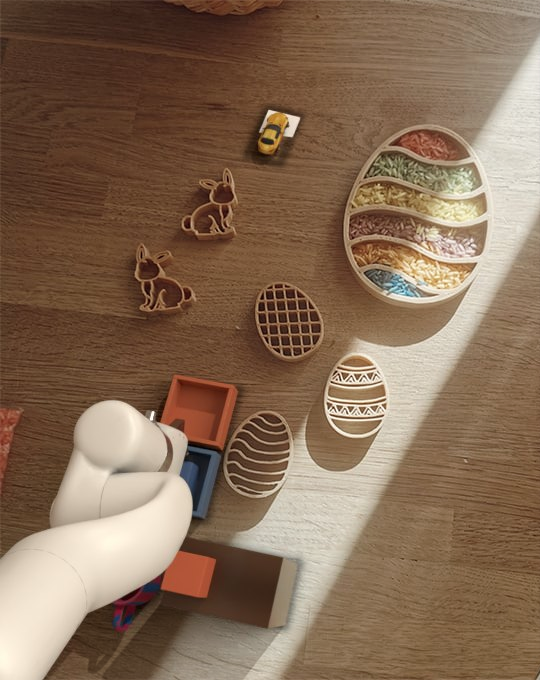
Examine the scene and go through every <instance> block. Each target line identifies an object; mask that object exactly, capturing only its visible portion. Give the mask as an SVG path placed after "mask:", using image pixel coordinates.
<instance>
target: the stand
mask: <svg viewBox="0 0 540 680" xmlns="http://www.w3.org/2000/svg"><path fill="white" fill-rule="evenodd" d="M179 551H182V552H187V553H192V554H196V555H201V556H206V557H210V558H213V559H216V563H215V567H214V571H213V575H212V579H211V583H210V587H209V591H208V595H207V598H200V597H193V596H189V595H184V594H180V593H175V592H171V591H166V590H163V594H162V597H161V601H160V605H161V606H165V607H169V608H173V609H178V610H183V611H187V612H193V613H195V614H201V615H205V616H209V617H214V618H218V619H222V620H226V621H231V622H237V623H240V624H245V625H248V626H249V625H250V626H254V627H258V628H259V627H260V628H262V629H267V630H268V629H273V628H278V627H279V628H280V627H284V626H286V622H287V618H288V613H289V609H290V604H291V599H292V596H293V590H294V587H295V586H294V585H295V580H296V576H297V572H298V568H299V567H298V566H299V565H298V564H297V563H295V562H293V561H291V560H289V559H287V558H286V557H283V556H278V555H274V554H269V553H264V552H259V551H255V550H250V549H245V548H240V547H236V546H231V545H226V544H223V543H218V542H212V541H209V540H203V539H198V538H194V537H189V536H186V537H185V539H184V541H183V543H182V545H181V547H180V549H179Z"/></svg>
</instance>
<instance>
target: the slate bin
mask: <svg viewBox="0 0 540 680" xmlns="http://www.w3.org/2000/svg"><path fill="white" fill-rule="evenodd" d="M187 448H189V454H190V456H189V457H191V458H192V459H193V460H195V461H196V462H195V465H197V466H198V467H199V468H200V471H199V474H198V478H197V482H196V485H195V489H194V493H193V497H192V505H193V507H192V517H191V518H197V519H200V520H201V519H202V520H206V517H207V513H208V510H209V509H208V508H209V505H210V501H211V497H212V494H213V489H214V486H215V481H216V479H217V474H218V470H219V466H220V462H221V459H222V456H221V455H220V454H219V453H218V452H217V451H216V450H215V451H214V450H209V449H204V448H200V447H194V446H190V445H187Z"/></svg>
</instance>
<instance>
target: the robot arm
mask: <svg viewBox="0 0 540 680" xmlns="http://www.w3.org/2000/svg"><path fill="white" fill-rule="evenodd" d="M184 427H185V420H182V419H177V418H176V419H175V420H174V421H173V422H172V423H171V424H170V425H165V424H162V423H160V422H157V412H155V411H153V410H148V409H146V410H145V413H144V414H142V413H141V412H140V411H138V410H137V409H136V408H135V407H133V406H132V405H130V404H129V403H127V402H124V401H122V400H117V399H107V400H103V401H100V402H96V403H94V404H93V405H91V406H89V407H88V408H87V409H85V410H84V411H83V412H82V414H81V415H80V416H79V418H78V420H77V421H76V424H75V426H74V430H73V436H72V437H73V438H72V439H73V449H72V452H71V455H70V458H69V460H68V464H67V467H66V468H65V469H66V470H65V472H64V475H63V476H62V477H63V478H62V480H61V483H60V485H59V488H58V490H57V493H56V496H55V497H54V499H53V501H52V503H51V506H50V510H49V525H50V528H47V529H45V530H44V529H43V530H41V531H38V532H34V533H32V534H30V535H28V536H26V537H24V538H22V539H20V540H19V541H17V542H16V543H15V544H14V545H12V546H11V547H10V549H8V550H7V551H6V553H5V554H4V555H3V556H2V557H0V680H44V678H46V676H47V675H48V673H49V672H50V670H51V668H52V667H53V665H54V664H55V662H56V661H57V660H58V658H59V656H60V655H61V653H62V652H63V651H64V649H65V647H66V646H67V645H68V643H69V641H70V640H71V639H72V637H73V636H74V635H75V633H76V632H77V629H78V628H79V627H80V625H81V624H82V622H83V621H84V620H85V618H86V616H87V615H88V614H89V613H91V612H94V611H96V610H98V609H101V608H103V607H105V606H107V605H109V604H111V603H112V602H114V601H115V600H117V599H119V598H121V597H123V596H125V595H127V594H128V593H130V592H132V591H134V590H136V589H138V588H139V587H141V586H143V585H145V584H147V583H148V582H150V581H151V580H153V579H155V578H156V577H157V576H159V575H160V574H161V575H162V574H163V573H165V571H166V569H167V568H168V567H169V565H170V564H171V563H172V561H173V560H174V558H175V556H176V554H177V552H178V551H179V549H180V547H181V545H182V543H183V541H184V539H185V537H187V534H188V531H189V529H190V525H191V523H192V522H191V521H192V518H193V517H192V507H193V505H192V495H191V492H190V489H189V487H188V485H187V483H186V482H185V480H184V479H183V478H181V477H180V476H179V475H180V472H181V468H182V464H183V461H187V462H193V463H194V464H195V462H196V461H195V460H193V459H192V458H191V457H189V456H190V454H189V448H187V446H188V445H189V444H188V440H187V437H186V435H185V434H184Z"/></svg>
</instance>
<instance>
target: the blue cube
mask: <svg viewBox="0 0 540 680" xmlns="http://www.w3.org/2000/svg"><path fill="white" fill-rule="evenodd" d="M199 471H200V468H199V467H198V466H197V465H195V464H194V463H193V462H187V461H183V464H182V468H181V472H180V475H179V476H180V477H181V478H183V479H184V480H185V482H186V483H187V485H188V487H189V489H190V492H191V495H192V497H193V493H194V489H195V485H196V482H197V478H198V474H199Z"/></svg>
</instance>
